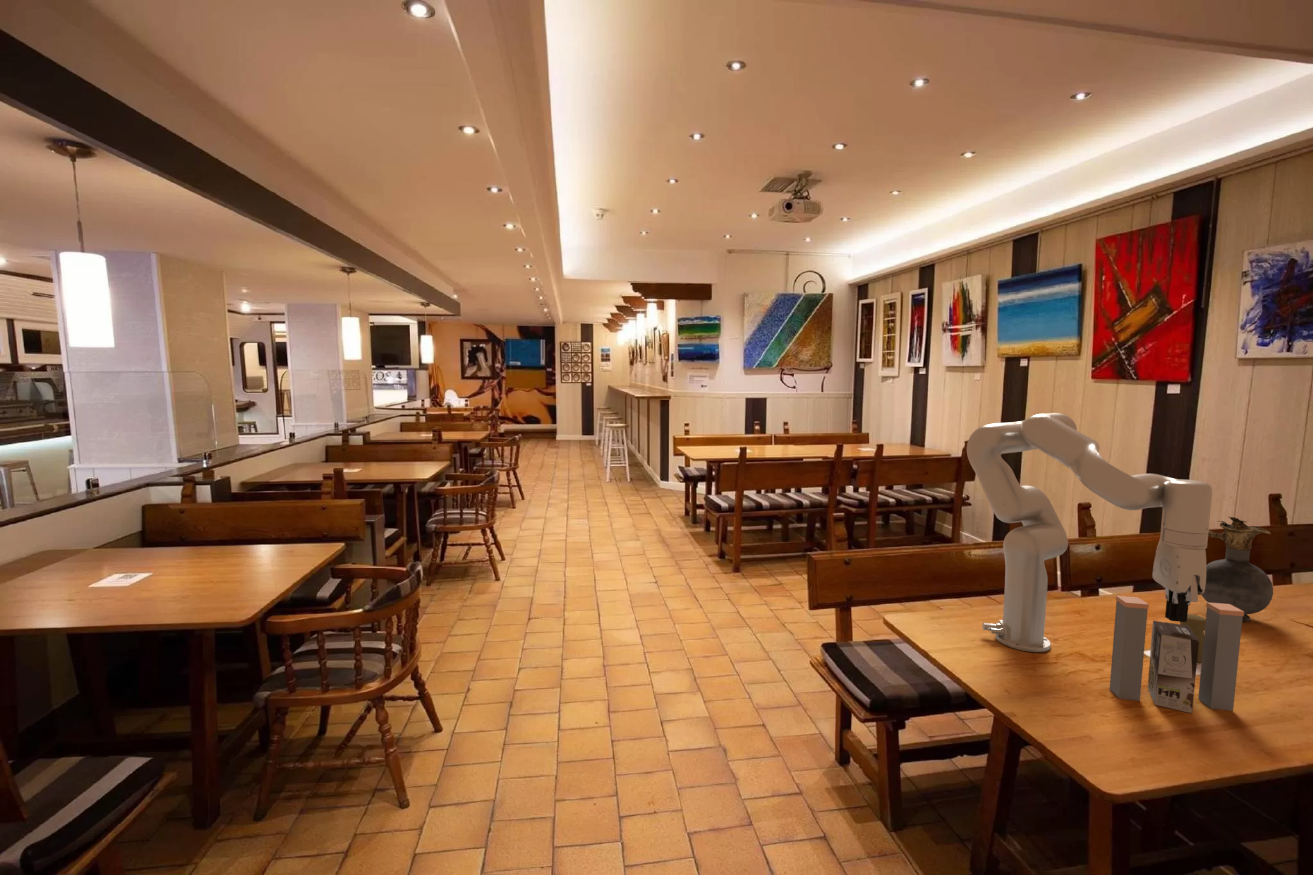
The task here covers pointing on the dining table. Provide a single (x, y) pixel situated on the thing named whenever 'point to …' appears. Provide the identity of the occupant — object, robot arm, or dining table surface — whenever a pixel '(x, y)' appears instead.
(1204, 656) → the post far
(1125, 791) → the dining table surface
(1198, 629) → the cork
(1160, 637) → the coffee box
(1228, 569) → the pitcher
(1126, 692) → the post near base
